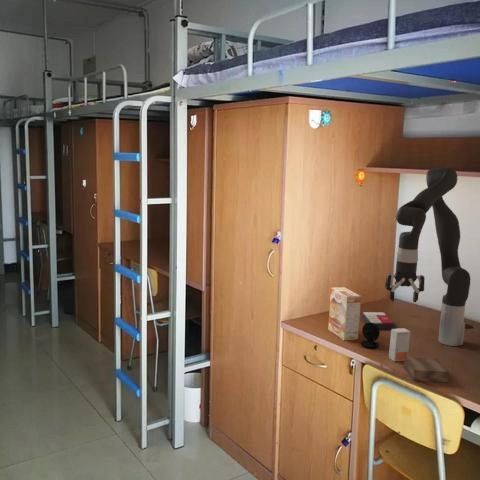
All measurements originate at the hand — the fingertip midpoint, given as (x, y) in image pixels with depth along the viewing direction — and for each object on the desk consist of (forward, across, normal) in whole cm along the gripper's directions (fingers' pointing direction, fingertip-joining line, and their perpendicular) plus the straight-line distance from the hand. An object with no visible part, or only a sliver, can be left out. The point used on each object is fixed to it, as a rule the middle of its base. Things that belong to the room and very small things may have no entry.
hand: (403, 301), depth 210 cm
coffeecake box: (+24, +17, -27) cm, 40 cm away
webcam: (+24, +8, -14) cm, 29 cm away
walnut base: (+23, -6, +14) cm, 28 cm away
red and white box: (+24, -2, -43) cm, 50 cm away
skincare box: (+24, 0, 0) cm, 24 cm away
